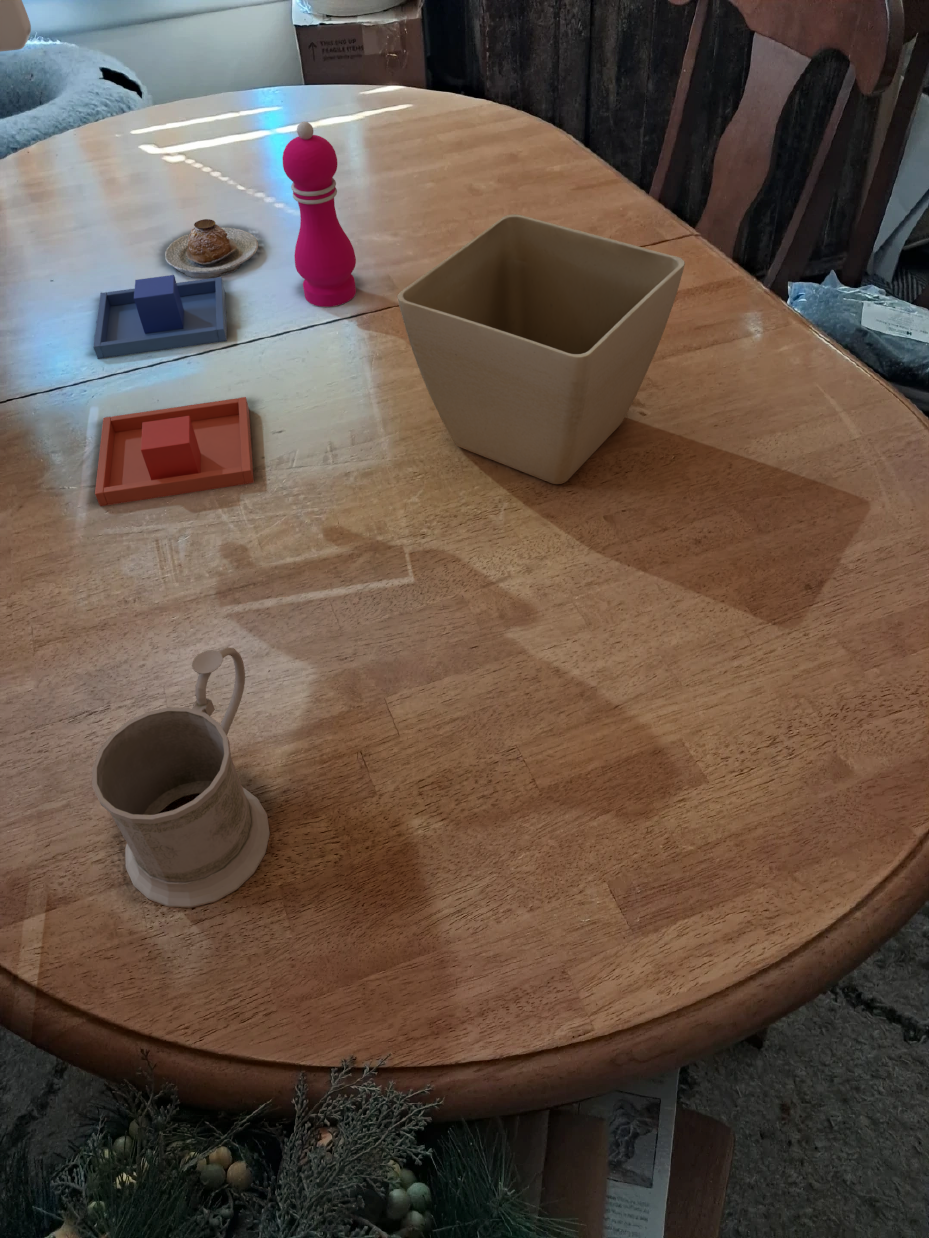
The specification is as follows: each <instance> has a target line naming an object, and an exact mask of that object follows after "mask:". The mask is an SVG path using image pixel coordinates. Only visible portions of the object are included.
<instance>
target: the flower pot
mask: <svg viewBox="0 0 929 1238" xmlns="http://www.w3.org/2000/svg"><path fill="white" fill-rule="evenodd" d="M685 265H686V261H685V260H684V259H683V258H682V257H679V256H677V255H676V256H675V255H672V254H668V253H664V252H661V251H660V252H659V251H656V250H653V249H650V248H647V247H641V246H639V245H635V244H633V243H627V242H624V241H620V240H616V239H613V238H609V237H605V236H601V235H598V234H595V233H590V232H586V231H582V230H580V229H575V228H572V227H568V226H564V225H561V224H556V223H552V222H548V221H545V220H541V219H537V218H533V217H530V216H526V215H522V214H516V213H515V214H514V213H513V214H512V213H511V214H506V215H504V216H502V217H500V219H498V220H497V221H496V222H495V223H493V224H492V225H490V226H489V227H488V228H486V229H485V230H483V231H482V232H481V233H480V234H478V235H477V236H476V237H474V238H473V239H471V240H470V241H468V242H467V243H466V244H465V245H462V247H460V248H459V249H457V250H456V251H455V252H453V253H452V254H451V255H449V256H448V257H446V258H445V259H444V260H442V261H441V262H439V263H438V264H436V266H434V267H433V268H431V269H430V270H428V271H427V272H426V273H424V274H422V275H421V276H420V277H419V278H417V279H416V280H414V282H412V283H410V284H409V285H408V286H406V287H404V288H403V289H402V290H400V292H399V293H398V294H397V295H396V297H397V302H398V306H399V310H400V314H401V318H402V322H403V325H404V328H405V331H406V334H407V338H408V341H409V344H410V347H411V350H412V353H413V356H414V360H415V362H416V365H417V367H418V370H419V372H420V375H421V377H422V380H423V382H424V385H425V387H426V389H427V392H428V394H429V396H430V399H431V401H432V403H433V405H434V407H435V410H436V411H437V413H438V415H439V417H440V419H441V421H442V423H443V425H444V427H445V429H446V431H447V433H448V434H449V436H450V438H451V439H452V441H453V442H454V444H455V445H456V446H457V447H459V448H461V449H464V450H466V451H469V452H471V453H474V454H477V455H478V456H481V457H484V458H486V459H488V460H492V461H494V462H496V463H499V464H501V465H504V466H506V467H509V468H512V469H514V470H516V471H519V472H522V473H524V474H526V475H530V476H532V477H535V478H537V479H539V480H542V481H545V482H547V483H550V484H553V485H562V484H564V483H566V482H568V481H569V479H570V478H571V477H572V476H574V475H575V474H576V472H577V471H578V470H579V469H580V468H581V467H582V466H583V465H584V464H585V463H586V462H587V460H589V458H590V457H591V456H592V455H593V454H594V453H595V452H596V451H597V450H598V449H599V448H600V447H601V446H602V444H604V442H606V440H608V438H609V437H611V435H612V434H613V433H614V432H615V431H616V430H617V429H618V428H619V427H620V426H621V425H622V424H623V421H624V420H625V418H626V416H627V414H628V413H629V410H630V409H631V407H632V405H633V403H634V401H635V399H636V397H637V394H638V392H639V390H640V388H641V386H642V384H643V382H644V379H645V378H646V375H647V373H648V371H649V368H650V366H651V364H652V361H653V359H654V357H655V354H656V352H657V349H658V347H659V344H660V343H661V339H662V337H663V334H664V331H665V329H666V326H667V324H668V321H669V318H670V315H671V312H672V309H673V306H674V304H675V301H676V297H677V293H678V290H679V287H680V284H681V280H682V277H683V272H684V269H685Z"/></svg>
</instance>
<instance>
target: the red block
mask: <svg viewBox="0 0 929 1238" xmlns="http://www.w3.org/2000/svg"><path fill="white" fill-rule="evenodd" d="M141 452H142V455H143V458H144V461H145V463H146V466H147V469H148V472H149V475H150V478H151V480H157V479H164V478H170V477H177V476H183V475H190V474H196V473H201V453H200V449H199V446H198V443H197V439H196V436H195V433H194V429H193V426H192V423H191V419H190V416H184V417H177V418H170V419H164V420H157V421H150V422H143V423H142V439H141Z"/></svg>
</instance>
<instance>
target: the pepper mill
mask: <svg viewBox="0 0 929 1238" xmlns="http://www.w3.org/2000/svg"><path fill="white" fill-rule="evenodd" d="M296 133H297V136H295V138H292V139H291V140H289V142H288V143H287V144H286V146H285V148H284V149H283V153H282V168H283V171H284V174H285V175H286V176H287V178H288V179H289V180H290V181H291V182H292V183H291V186H290V187H291V191H292V198H293V200H294V201H295V202H297V205H298V208H299V216H300V217H299V218H300V221H299V223H300V225H299V231H298V234H297V239H296V243H295V247H294V266H295V270H296V272H297V273H298V274H299V276H300V277H301V278H302V279H304V280H303V281H302V289H303V294H304V299H305V300H306V301H307V302H308V303H309V304H311V305H312V306H315V307H321V308H332V307H333V308H334V307H336V306H341V305H343V304H346V303H348V302H350V301H352V300H353V299H354V297H355V296H356V293H357V288H356V281H355V277H354V275H353V274H352V273H353V271H354V270H355V267H356V265H357V258H356V252H355V249H354V247H353V244H352V242H351V240H350V239H349V236H348V235H347V234H346V233H345V231H344V229H343V227H342V225H341V223H340V221H339V218H338V216H337V215H338V214H337V211H336V205H335V197H336V196H337V194H338V189H337V188H336V185H337V182H336V180H335V178H334V176H335V175H336V173H337V170H338V156H337V153H336V150H335V148H334V146H333V145H332V143H330V141H328V140H327V139H326V138H324V137H322V136H320V135H317V134H314V127H313V125H312V124H311V123H310V122H308V121H301V122H299V124H298V125H297V127H296Z"/></svg>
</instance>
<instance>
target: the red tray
mask: <svg viewBox="0 0 929 1238" xmlns="http://www.w3.org/2000/svg"><path fill="white" fill-rule="evenodd" d="M247 399H248V398H247V396H241V397H237V398H228V399H222V400H217V401H216V400H215V401H209V402H202V403H195V404H188V405H181V406H174V407H168V408H167V407H166V408H160V409H153V410H146V411H140V412H134V413H126V414H119V415H112V416H106V417H105V416H104V417H102V424H101V425H102V427H101V435H100V444H99V453H98V462H97V471H96V480H95V490H94V496H95V498H96V500H97V502H98V503H97V504H98V505H99V507H106V506H111V505H118V504H126V503H132V502H138V501H145V500H151V499H152V500H153V499H158V498H165V497H172V496H177V495H183V494H192V493H197V492H203V491H210V490H217V489H224V488H229V487H237V486H242V485H243V486H244V485H249V484H254V482H255V479H254V466H253V465H254V464H253V450H252V433H251V420H250V407H249V404H248V400H247ZM184 416H190V419H191V423H192V426H193V429H194V433H195V436H196V439H197V443H198V446H199V449H200V453H201V473H196V474H190V475H183V476H177V477H170V478H164V479H157V480H151V478H150V475H149V472H148V469H147V466H146V463H145V461H144V458H143V455H142V452H141V439H142V423H143V422H150V421H157V420H164V419H170V418H177V417H184Z"/></svg>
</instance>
